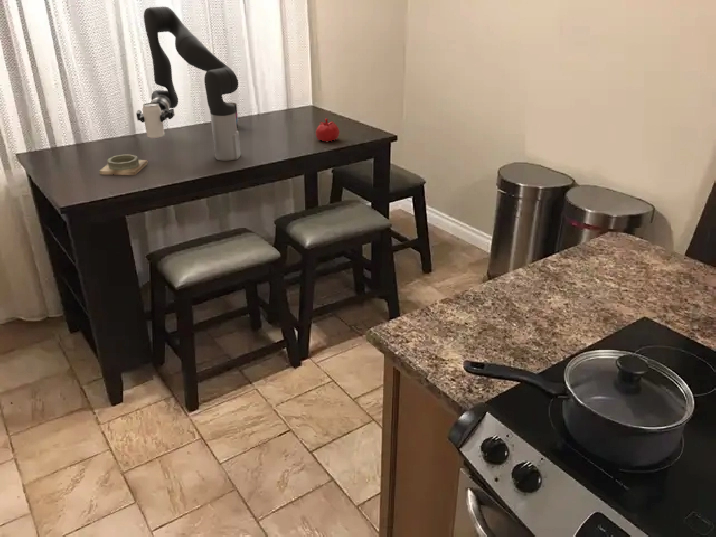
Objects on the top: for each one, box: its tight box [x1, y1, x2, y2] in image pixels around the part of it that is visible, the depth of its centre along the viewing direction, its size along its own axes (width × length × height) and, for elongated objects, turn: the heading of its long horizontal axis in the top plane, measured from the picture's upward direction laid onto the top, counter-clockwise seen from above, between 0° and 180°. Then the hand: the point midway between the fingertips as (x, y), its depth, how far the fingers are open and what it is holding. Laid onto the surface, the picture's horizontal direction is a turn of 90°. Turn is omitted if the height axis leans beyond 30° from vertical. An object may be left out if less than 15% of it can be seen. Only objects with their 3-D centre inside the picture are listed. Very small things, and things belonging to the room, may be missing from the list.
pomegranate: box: [315, 118, 340, 142], centre depth 256 cm, size 10×10×9 cm
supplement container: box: [228, 101, 239, 128], centre depth 272 cm, size 7×7×10 cm
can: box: [141, 102, 166, 140], centre depth 229 cm, size 6×6×12 cm
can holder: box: [99, 153, 149, 176], centre depth 225 cm, size 13×13×4 cm
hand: (151, 119), depth 226 cm, fingers closed on can, 6 cm apart
